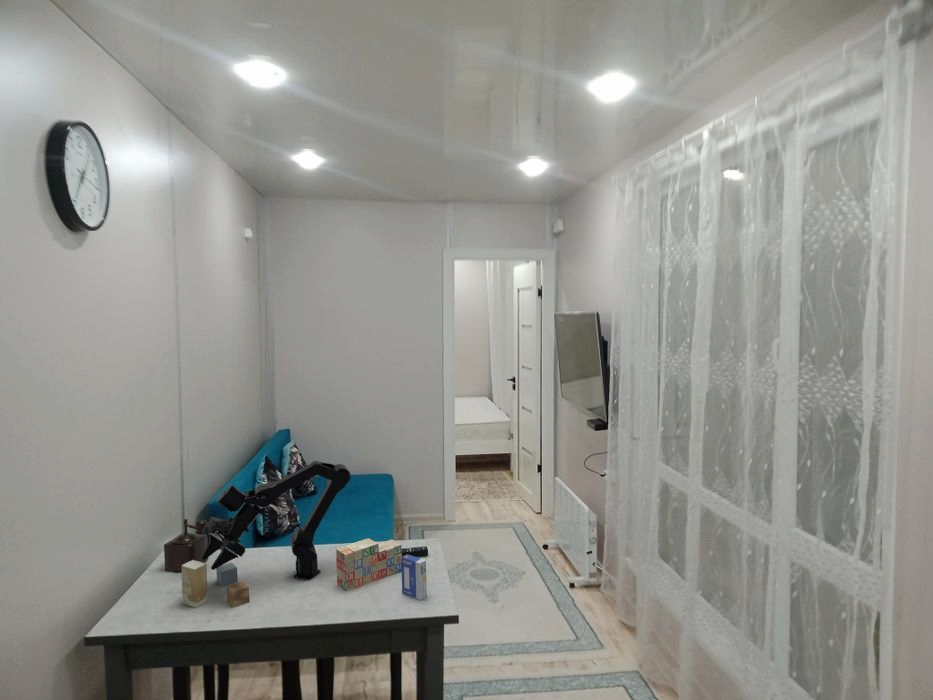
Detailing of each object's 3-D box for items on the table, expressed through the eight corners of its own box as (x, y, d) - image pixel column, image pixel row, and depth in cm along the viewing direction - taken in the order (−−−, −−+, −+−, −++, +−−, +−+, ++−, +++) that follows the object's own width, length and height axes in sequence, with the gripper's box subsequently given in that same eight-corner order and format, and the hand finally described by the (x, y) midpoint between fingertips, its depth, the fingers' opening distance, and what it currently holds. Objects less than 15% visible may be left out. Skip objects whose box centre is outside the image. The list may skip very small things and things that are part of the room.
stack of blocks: (392, 565, 198) (391, 530, 197) (402, 571, 193) (401, 536, 192) (336, 584, 184) (335, 547, 183) (346, 592, 179) (345, 554, 178)
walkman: (402, 593, 178) (401, 556, 177) (407, 589, 180) (407, 553, 179) (421, 600, 173) (420, 562, 172) (427, 596, 175) (426, 559, 174)
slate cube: (232, 576, 190) (231, 562, 190) (237, 582, 187) (237, 567, 186) (216, 581, 187) (216, 566, 187) (222, 587, 183) (221, 572, 183)
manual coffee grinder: (162, 572, 194) (159, 521, 193) (182, 558, 205) (179, 509, 204) (205, 574, 192) (202, 522, 191) (222, 559, 203) (220, 510, 202)
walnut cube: (243, 596, 177) (243, 580, 177) (249, 602, 174) (248, 586, 173) (227, 601, 174) (226, 586, 174) (232, 608, 170) (232, 592, 170)
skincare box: (182, 604, 173) (180, 565, 172) (194, 597, 177) (192, 559, 176) (196, 608, 170) (194, 569, 169) (208, 601, 174) (207, 563, 173)
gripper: (213, 499, 185) (178, 541, 178) (233, 515, 171) (195, 561, 164) (239, 517, 190) (205, 559, 184) (260, 533, 176) (224, 579, 170)
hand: (207, 564), depth 175 cm, fingers open, 9 cm apart
